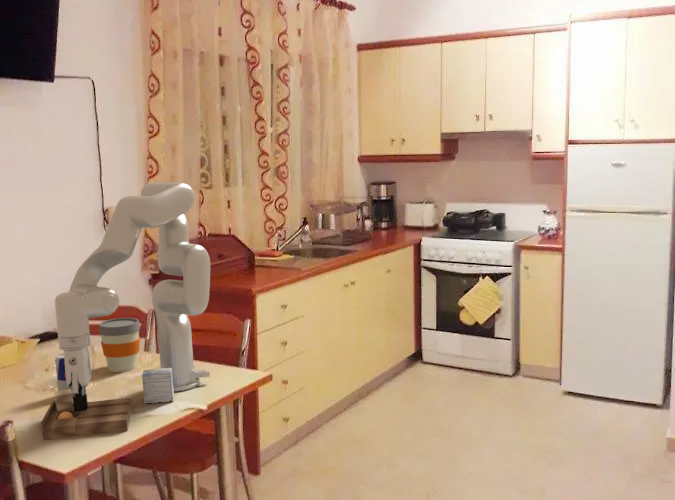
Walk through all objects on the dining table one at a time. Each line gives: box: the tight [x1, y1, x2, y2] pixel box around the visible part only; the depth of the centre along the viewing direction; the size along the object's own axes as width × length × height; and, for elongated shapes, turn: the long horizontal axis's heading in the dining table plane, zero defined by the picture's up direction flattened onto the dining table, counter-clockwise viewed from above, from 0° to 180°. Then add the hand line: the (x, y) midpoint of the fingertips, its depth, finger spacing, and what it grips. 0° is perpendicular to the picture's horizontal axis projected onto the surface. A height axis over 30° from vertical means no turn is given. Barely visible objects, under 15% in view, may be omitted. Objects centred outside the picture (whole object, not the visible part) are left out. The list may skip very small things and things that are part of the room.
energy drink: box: [54, 353, 73, 398], centre depth 206 cm, size 5×5×12 cm
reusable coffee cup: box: [98, 317, 141, 373], centre depth 230 cm, size 13×13×15 cm
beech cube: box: [54, 389, 73, 411], centre depth 189 cm, size 4×4×4 cm
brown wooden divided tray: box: [40, 397, 133, 441], centre depth 185 cm, size 20×16×4 cm
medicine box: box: [141, 368, 175, 405], centre depth 199 cm, size 8×4×9 cm, turn 100°
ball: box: [57, 411, 74, 419], centre depth 183 cm, size 4×4×4 cm
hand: (81, 409), depth 184 cm, fingers closed
